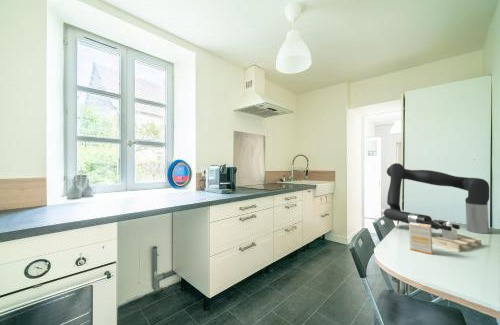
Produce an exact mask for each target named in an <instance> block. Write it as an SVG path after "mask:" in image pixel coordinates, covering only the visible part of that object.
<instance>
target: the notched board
mask: <svg viewBox="0 0 500 325" xmlns="http://www.w3.org/2000/svg"><path fill="white" fill-rule="evenodd" d="M432 245H435V246H439V247H443V248H445V249H449V250H452V251H455V252H458V253H459V252H462V251H467V250H469V249H473V248H474V249H475V248H477V247H480V246H482V239H481V238H478V237H477V238H476V237H472V236H467V235H464V234H459V233H457V240H454V241H453V240H449V239H445V238H442V237H441V236H434V237H432Z"/></svg>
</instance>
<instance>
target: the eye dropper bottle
mask: <svg viewBox="0 0 500 325" xmlns="http://www.w3.org/2000/svg"><path fill="white" fill-rule="evenodd" d="M452 224H453V222H451V220H450V219H447V222H446V226H450V227H451V228H452V230H451V231H448V230H443V229H441V233H442V234H441V236H442V238H445V239H449V240H453V241H454V240H457V234H458V229H455V228H453V227H452Z"/></svg>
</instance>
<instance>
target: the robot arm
mask: <svg viewBox="0 0 500 325" xmlns="http://www.w3.org/2000/svg"><path fill="white" fill-rule="evenodd" d="M386 174H387V175H388V176H389V177H390V183H389V187H388V192H387V197H386V200H387V201H386V203H387V205H388V206H389V208H386V209H384V211H383V216H384V217H385V218H387V219H389V220H392V221H395V222H397V221H398V222H401V223H405V224H408V225H409V223H410V222H414V223H421V224H428V225H431V229H433V230H442V229H443V230H448V231H451V230H452V228H451V227H450V226H446V222H448V220H447V221H446V220H442V219H433V218H432V217H431V216H430V215H426V214H421V213H414V212H410V211H409V212H408V211H402V209H401V206H400V205H401V204H400V200H401V188H402V187H401V186H402V180H409V181H413V182H414V181H415V182H416V183H417V182H418V183H423V184H428V185H433V186H438V187H439V186H440V187H451V188H452V187H453V188H456V189H460V190H464V191H467V192H468V193H467V197H466V198H465V200H464V201H465V218H466V222H465V223H466V230H467V231H469V232H473V233H477V234H490V225H489V207H488V206H489V205H488V204H489V200H490V185H489V182H488V181H487V180H486V179H484V178H479V177H468V176H467V177H465V176H458V175H457V176H456V175H451V174H448V173H444V172H441V171H435V170H430V169H429V170H428V169H407V168H405V167H404V165H402V164H400V163H397V162H396V163H391V165H390V166H389V167H388V168H387V169H386ZM452 227H453V228H455V229H456V230H460V229H461V228H460V224H454V223H452Z"/></svg>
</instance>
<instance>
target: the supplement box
mask: <svg viewBox="0 0 500 325" xmlns="http://www.w3.org/2000/svg"><path fill="white" fill-rule="evenodd" d="M408 229H409V230H408V234H409V249H410V250H411V251H414V252H415V251H416V252H420V253H425V254H428V255H432V254H433V244H432V238H433V236H432V228H431V225H428V224H421V223H414V222H410V223H409V224H408Z"/></svg>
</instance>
